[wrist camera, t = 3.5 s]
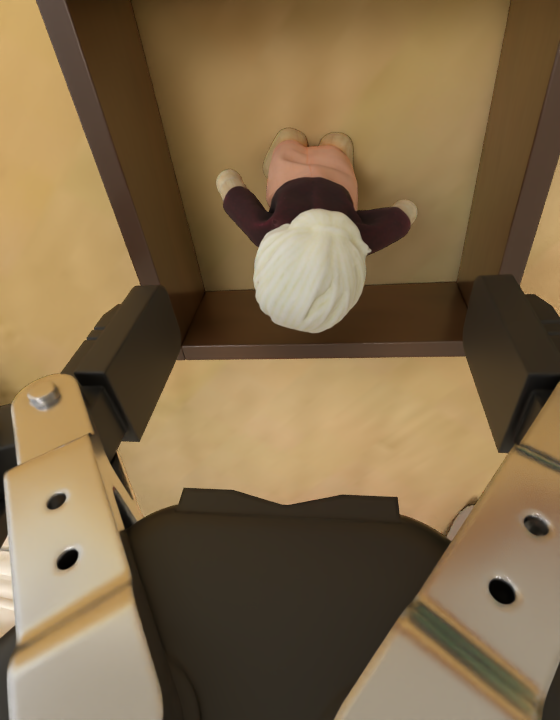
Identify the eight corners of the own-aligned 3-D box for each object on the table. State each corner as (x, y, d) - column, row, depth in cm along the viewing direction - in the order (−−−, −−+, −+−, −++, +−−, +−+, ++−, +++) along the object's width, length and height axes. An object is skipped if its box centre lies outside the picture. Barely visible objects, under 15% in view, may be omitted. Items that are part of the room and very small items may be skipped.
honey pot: (110, 553, 54) (36, 737, 41) (61, 572, 61) (-17, 737, 47) (18, 508, 49) (-104, 706, 35) (-26, 534, 55) (-143, 710, 41)
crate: (193, 305, 27) (168, 360, 23) (98, -33, 17) (20, -41, 13) (471, 295, 25) (498, 356, 20) (561, -107, 14) (653, -148, 10)
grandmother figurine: (249, 205, 22) (184, 361, 13) (238, 125, 20) (148, 244, 10) (397, 198, 21) (445, 362, 12) (405, 112, 19) (473, 233, 9)
